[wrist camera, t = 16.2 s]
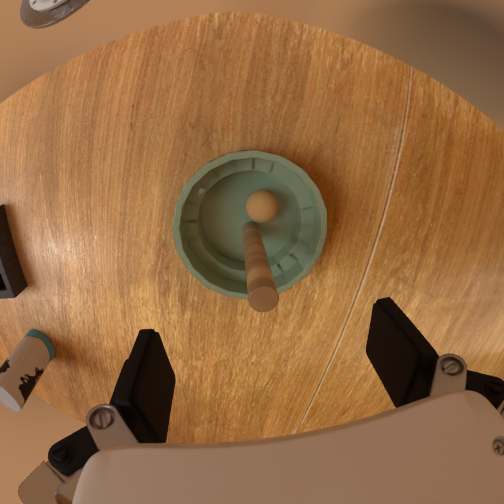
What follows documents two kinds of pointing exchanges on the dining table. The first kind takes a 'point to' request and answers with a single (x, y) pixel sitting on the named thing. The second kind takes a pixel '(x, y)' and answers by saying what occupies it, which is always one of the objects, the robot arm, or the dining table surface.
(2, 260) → the holder
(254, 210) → the dough ball
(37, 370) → the printed cylindrical canister
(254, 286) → the stick
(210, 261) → the bowl
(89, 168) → the dining table surface
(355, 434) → the robot arm
